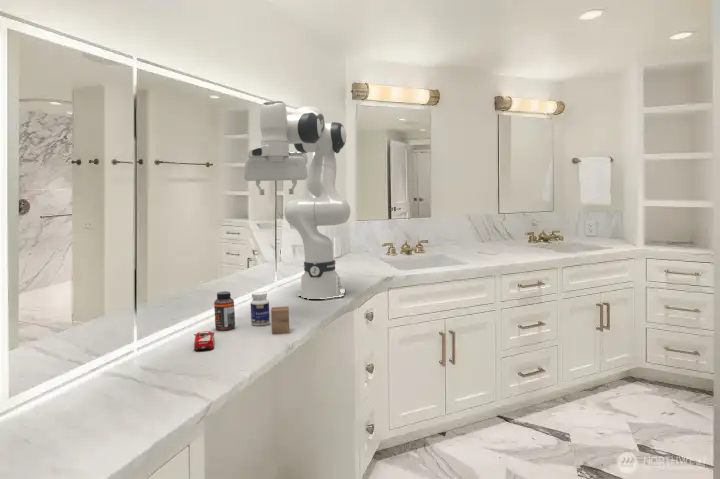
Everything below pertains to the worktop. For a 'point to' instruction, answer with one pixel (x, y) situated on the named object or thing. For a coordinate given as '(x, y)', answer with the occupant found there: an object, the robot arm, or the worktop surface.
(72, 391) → the worktop surface
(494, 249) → the worktop surface
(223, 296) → the supplement bottle
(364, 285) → the worktop surface
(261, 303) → the pill bottle
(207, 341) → the race car
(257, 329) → the worktop surface
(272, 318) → the walnut block
